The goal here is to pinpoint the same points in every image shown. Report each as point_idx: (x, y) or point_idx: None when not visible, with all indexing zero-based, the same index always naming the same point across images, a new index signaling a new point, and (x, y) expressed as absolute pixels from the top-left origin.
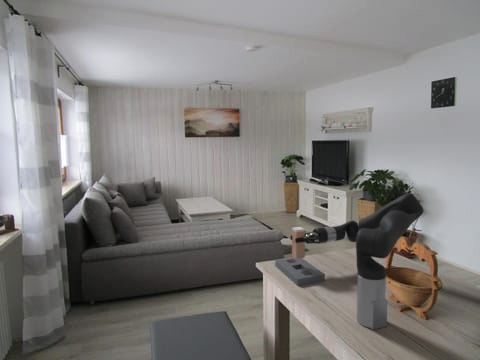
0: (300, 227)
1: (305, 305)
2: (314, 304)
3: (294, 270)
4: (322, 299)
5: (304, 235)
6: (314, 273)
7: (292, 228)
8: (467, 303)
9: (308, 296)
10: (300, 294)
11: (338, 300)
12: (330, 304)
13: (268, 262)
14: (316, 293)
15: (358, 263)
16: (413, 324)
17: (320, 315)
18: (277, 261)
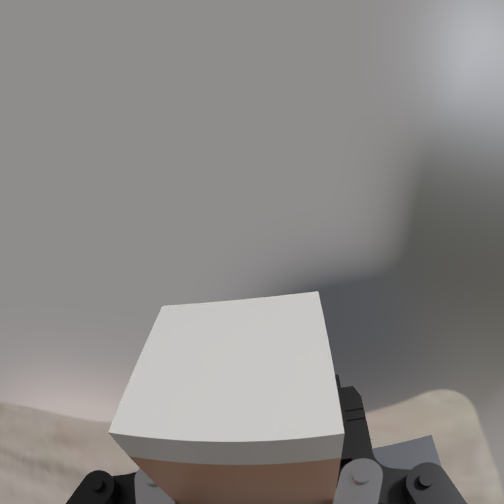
0: (276, 418)
1: (53, 413)
2: (39, 433)
3: None
4: (37, 470)
5: (162, 486)
6: None
7: (300, 300)
8: None
9: (75, 451)
10: (101, 440)
11: (5, 497)
12: (11, 464)
13: (468, 423)
14: (70, 485)
15: None
16: None
17: (10, 411)
18: (411, 444)
